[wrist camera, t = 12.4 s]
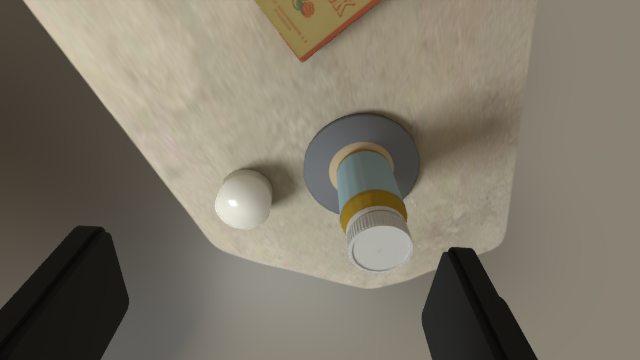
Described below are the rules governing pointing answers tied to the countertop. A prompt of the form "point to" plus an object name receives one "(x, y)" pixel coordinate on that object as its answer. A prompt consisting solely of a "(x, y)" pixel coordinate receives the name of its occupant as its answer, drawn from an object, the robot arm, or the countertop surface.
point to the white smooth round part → (244, 199)
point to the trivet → (352, 137)
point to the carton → (312, 21)
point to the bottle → (372, 213)
